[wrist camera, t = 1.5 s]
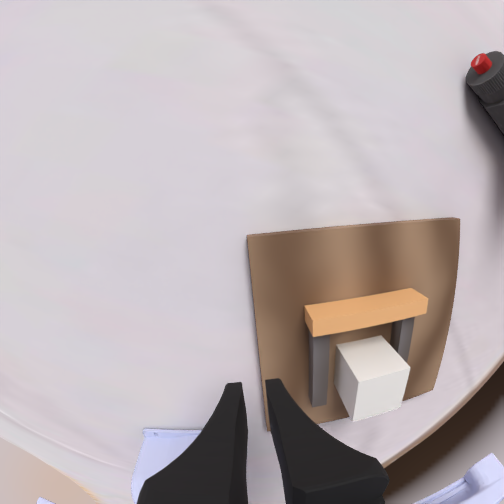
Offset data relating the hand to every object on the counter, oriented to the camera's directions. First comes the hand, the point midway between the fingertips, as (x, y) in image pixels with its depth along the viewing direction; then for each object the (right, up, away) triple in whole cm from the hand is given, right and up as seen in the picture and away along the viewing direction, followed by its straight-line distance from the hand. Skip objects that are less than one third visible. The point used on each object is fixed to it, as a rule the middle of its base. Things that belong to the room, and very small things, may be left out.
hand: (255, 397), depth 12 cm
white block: (+9, -2, +10) cm, 13 cm away
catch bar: (+8, +3, +8) cm, 12 cm away
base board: (+9, 0, +10) cm, 14 cm away
